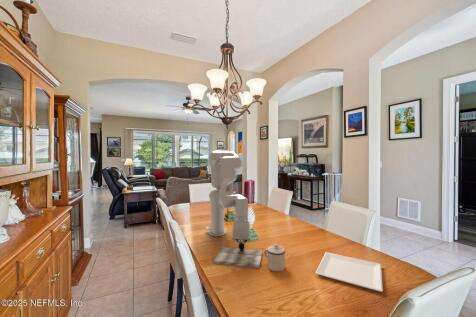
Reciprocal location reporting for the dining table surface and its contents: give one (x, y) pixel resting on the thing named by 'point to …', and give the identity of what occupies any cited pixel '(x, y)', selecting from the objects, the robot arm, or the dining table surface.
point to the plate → (351, 271)
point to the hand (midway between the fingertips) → (241, 249)
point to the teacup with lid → (275, 257)
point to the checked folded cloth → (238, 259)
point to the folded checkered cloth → (237, 251)
